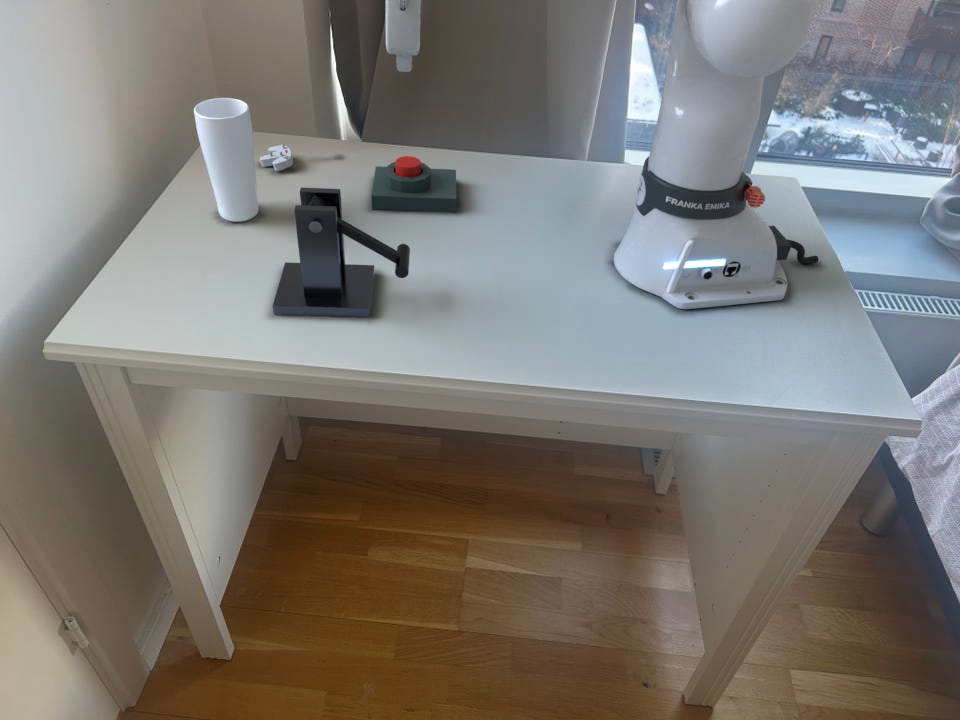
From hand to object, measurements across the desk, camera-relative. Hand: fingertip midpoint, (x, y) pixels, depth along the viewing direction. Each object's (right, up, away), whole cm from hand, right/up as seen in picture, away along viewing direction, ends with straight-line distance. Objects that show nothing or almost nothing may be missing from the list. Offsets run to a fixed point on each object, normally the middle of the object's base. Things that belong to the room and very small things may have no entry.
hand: (404, 67), depth 90 cm
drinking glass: (-24, -16, +13) cm, 31 cm away
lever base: (-9, -28, 0) cm, 29 cm away
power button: (-1, -9, +17) cm, 19 cm away
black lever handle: (-5, -22, -5) cm, 23 cm away
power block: (0, -11, +19) cm, 22 cm away
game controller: (-19, -5, +25) cm, 32 cm away
